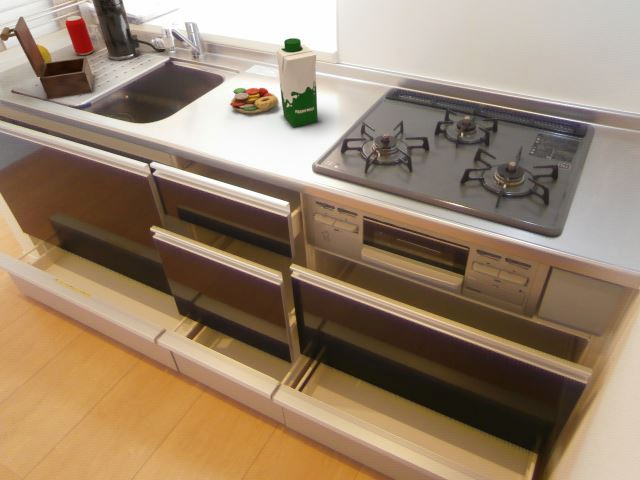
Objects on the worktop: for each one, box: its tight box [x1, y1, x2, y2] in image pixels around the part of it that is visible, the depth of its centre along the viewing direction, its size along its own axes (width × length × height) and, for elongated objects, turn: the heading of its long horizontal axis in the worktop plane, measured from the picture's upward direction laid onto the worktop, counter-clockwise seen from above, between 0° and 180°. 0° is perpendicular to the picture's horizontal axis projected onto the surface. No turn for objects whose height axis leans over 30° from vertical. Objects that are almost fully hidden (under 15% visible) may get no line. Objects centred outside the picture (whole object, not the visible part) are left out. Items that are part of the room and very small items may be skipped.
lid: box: [0, 16, 45, 78], centre depth 147 cm, size 13×13×6 cm
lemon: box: [36, 43, 52, 63], centre depth 167 cm, size 6×6×8 cm
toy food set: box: [229, 87, 279, 115], centre depth 141 cm, size 13×13×3 cm
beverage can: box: [65, 15, 94, 56], centre depth 176 cm, size 6×6×12 cm
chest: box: [39, 56, 94, 100], centre depth 155 cm, size 13×13×6 cm
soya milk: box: [276, 37, 319, 128], centre depth 129 cm, size 9×9×20 cm
